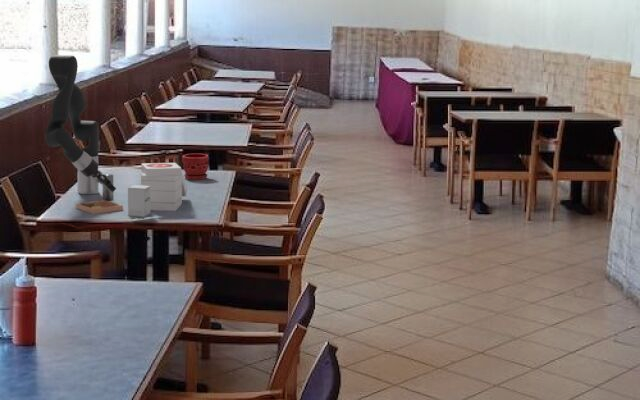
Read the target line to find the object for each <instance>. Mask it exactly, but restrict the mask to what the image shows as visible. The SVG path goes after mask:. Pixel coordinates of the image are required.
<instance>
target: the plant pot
mask: <svg viewBox="0 0 640 400" xmlns="http://www.w3.org/2000/svg"><path fill="white" fill-rule="evenodd" d="M181 157H182V159H181V160H182V162H181V163H182V167H183V171H184V175H183V177H185V178H186V179H187V180H193V181H196V180H197V181H199V180H203V179H206V178H207V177H208V174H207V171H208V169H209V162H210V161H209V155H208V154H207V153H206V154H205V153H187V154H183V155H182V156H181Z"/></svg>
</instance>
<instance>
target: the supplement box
mask: <svg viewBox="0 0 640 400" xmlns="http://www.w3.org/2000/svg"><path fill="white" fill-rule="evenodd" d="M150 214H151V210H150V186H143V185H141V184H139V185H138V184H134V185H132V186H129V187H127V216H130V217H139V219H141V220H142V219H145V218H148V215H150Z"/></svg>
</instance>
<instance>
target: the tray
mask: <svg viewBox="0 0 640 400" xmlns="http://www.w3.org/2000/svg"><path fill="white" fill-rule="evenodd" d="M90 202H91V203H94V206H101V208H96V209H93V208H90V207H87V206H84V205H81V203H82V202H79V203H78V202H77V203H75V209H76V210H81V211H83V212H85V213H89V214H92V215H95V214H102V213H103V214H104V213H110V212H111V213H112V212H118V211H123V210H124V205H123V204H120V203H116V202H114V201H106V200H103V199H102V200H96V201H90Z"/></svg>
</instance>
